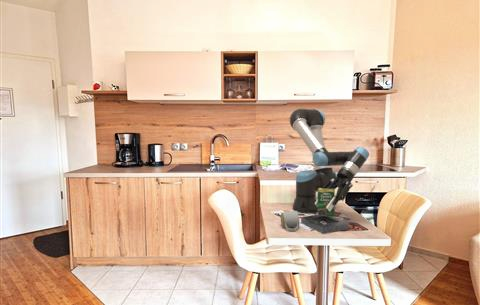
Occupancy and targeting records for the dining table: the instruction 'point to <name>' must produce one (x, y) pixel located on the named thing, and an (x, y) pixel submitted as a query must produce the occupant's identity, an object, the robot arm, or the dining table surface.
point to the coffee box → (325, 201)
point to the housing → (325, 228)
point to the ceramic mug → (290, 220)
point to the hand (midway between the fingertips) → (322, 207)
